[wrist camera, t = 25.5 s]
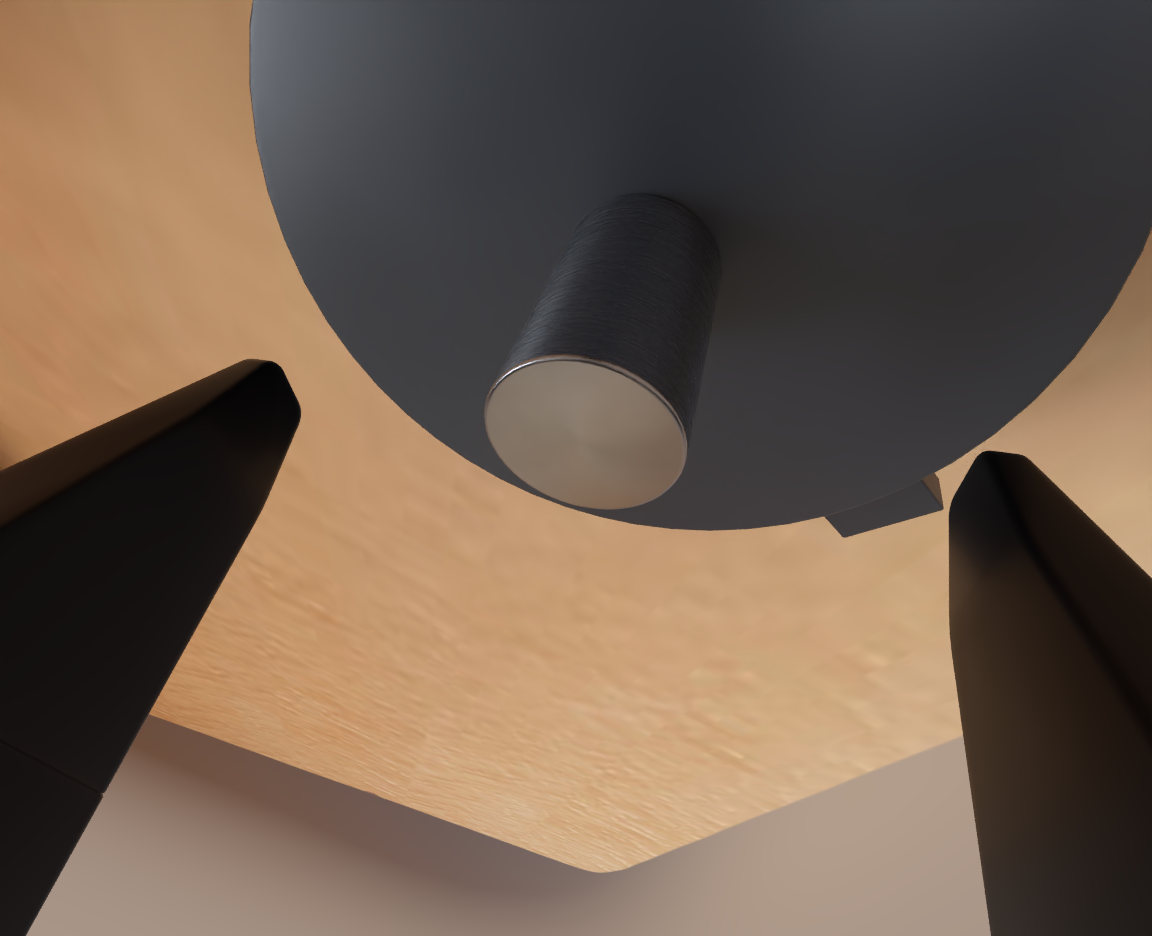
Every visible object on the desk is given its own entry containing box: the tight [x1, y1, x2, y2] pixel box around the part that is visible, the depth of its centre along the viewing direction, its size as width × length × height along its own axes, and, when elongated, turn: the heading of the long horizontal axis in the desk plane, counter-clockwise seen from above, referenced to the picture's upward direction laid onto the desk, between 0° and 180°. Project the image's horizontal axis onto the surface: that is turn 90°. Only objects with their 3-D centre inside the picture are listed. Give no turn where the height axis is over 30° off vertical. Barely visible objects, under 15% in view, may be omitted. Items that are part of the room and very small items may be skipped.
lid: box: [250, 0, 1152, 531], centre depth 10 cm, size 14×14×5 cm
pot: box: [824, 473, 943, 537], centre depth 13 cm, size 13×18×6 cm
